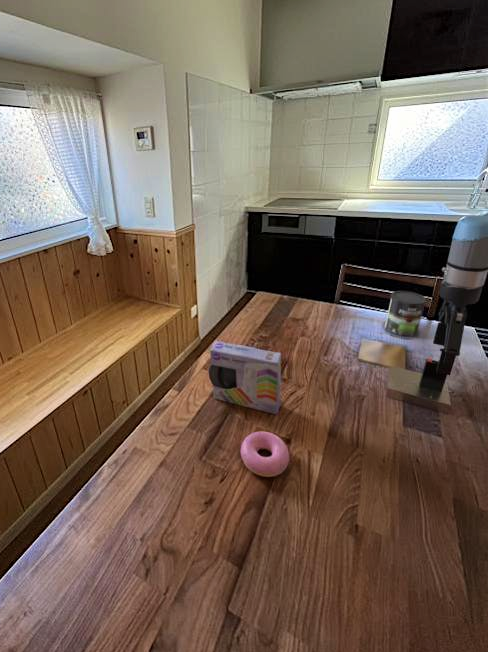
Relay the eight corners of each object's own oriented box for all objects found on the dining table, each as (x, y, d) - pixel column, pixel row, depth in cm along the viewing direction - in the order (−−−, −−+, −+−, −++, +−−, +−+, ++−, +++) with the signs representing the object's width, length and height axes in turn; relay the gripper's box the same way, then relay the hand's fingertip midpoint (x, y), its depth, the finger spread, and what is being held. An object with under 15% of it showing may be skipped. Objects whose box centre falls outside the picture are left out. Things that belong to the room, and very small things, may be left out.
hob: (446, 388, 95) (449, 379, 93) (450, 414, 86) (453, 405, 85) (387, 373, 102) (389, 365, 100) (385, 396, 93) (387, 387, 92)
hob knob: (441, 387, 91) (449, 362, 87) (442, 391, 89) (450, 366, 86) (419, 382, 93) (426, 357, 90) (419, 385, 92) (426, 361, 88)
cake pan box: (209, 398, 96) (206, 347, 89) (215, 387, 100) (213, 337, 93) (276, 417, 89) (280, 363, 81) (280, 404, 93) (284, 351, 85)
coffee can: (421, 340, 116) (431, 304, 110) (388, 338, 118) (396, 302, 112) (411, 325, 125) (419, 291, 119) (380, 323, 127) (387, 289, 121)
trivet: (404, 349, 112) (405, 347, 111) (404, 371, 102) (405, 369, 101) (361, 340, 118) (362, 338, 118) (357, 360, 108) (357, 358, 108)
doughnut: (290, 445, 80) (291, 433, 79) (286, 487, 71) (288, 474, 69) (245, 434, 84) (245, 422, 82) (236, 473, 75) (235, 460, 73)
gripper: (438, 263, 90) (422, 331, 99) (447, 302, 71) (425, 382, 79) (474, 267, 86) (453, 336, 95) (493, 309, 67) (465, 392, 76)
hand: (440, 357), depth 87 cm, fingers open, 13 cm apart
